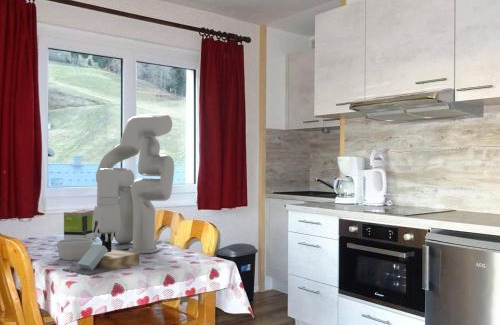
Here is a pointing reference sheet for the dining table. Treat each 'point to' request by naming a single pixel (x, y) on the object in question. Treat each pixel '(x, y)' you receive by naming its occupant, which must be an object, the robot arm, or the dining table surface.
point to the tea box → (78, 224)
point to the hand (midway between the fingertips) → (106, 251)
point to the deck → (118, 259)
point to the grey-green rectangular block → (92, 257)
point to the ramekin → (73, 248)
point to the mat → (86, 271)
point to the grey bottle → (125, 216)
